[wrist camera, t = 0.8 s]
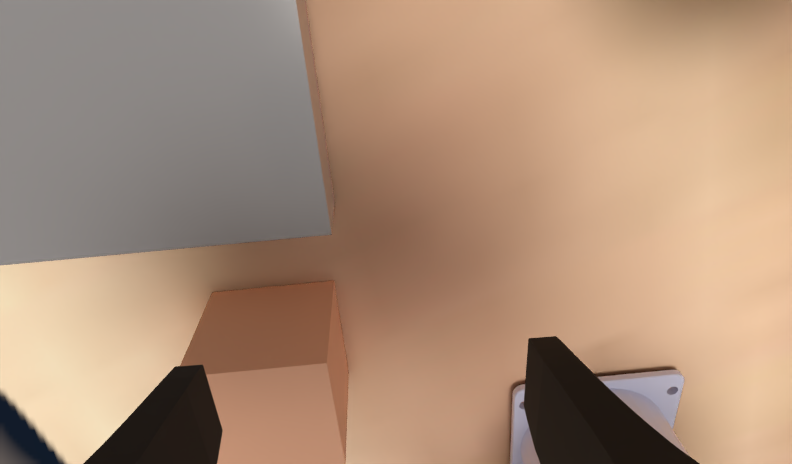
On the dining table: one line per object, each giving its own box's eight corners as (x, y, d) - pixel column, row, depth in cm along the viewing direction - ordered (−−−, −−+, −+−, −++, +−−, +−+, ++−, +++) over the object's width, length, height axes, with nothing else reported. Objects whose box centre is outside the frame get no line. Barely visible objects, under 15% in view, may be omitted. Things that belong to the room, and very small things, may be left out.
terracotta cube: (348, 370, 24) (345, 464, 20) (239, 381, 24) (211, 477, 20) (334, 279, 22) (326, 363, 18) (212, 291, 22) (175, 377, 18)
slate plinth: (335, 197, 21) (331, 234, 18) (24, 226, 21) (-26, 267, 18) (280, -191, 15) (262, -219, 12) (-152, -155, 15) (-263, -176, 12)
